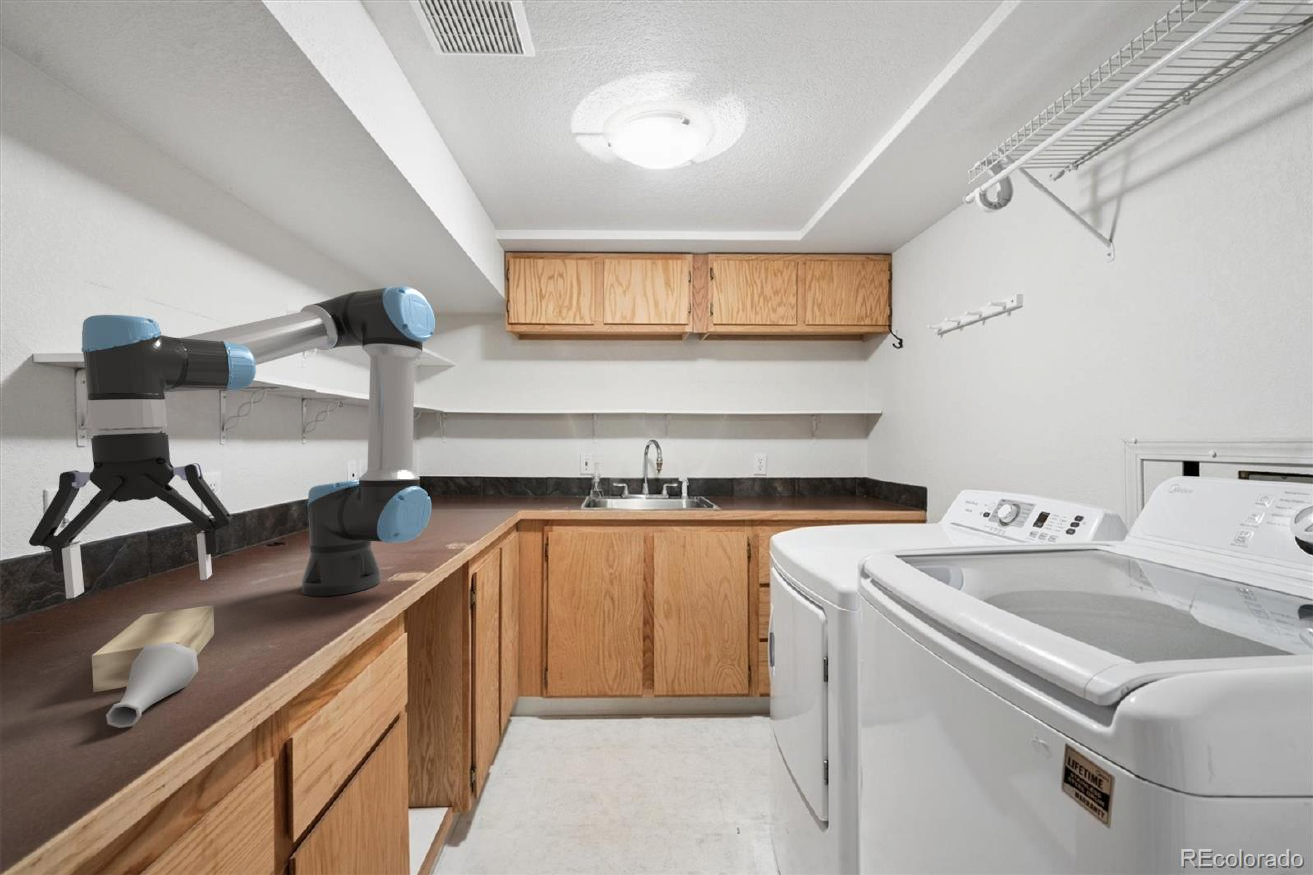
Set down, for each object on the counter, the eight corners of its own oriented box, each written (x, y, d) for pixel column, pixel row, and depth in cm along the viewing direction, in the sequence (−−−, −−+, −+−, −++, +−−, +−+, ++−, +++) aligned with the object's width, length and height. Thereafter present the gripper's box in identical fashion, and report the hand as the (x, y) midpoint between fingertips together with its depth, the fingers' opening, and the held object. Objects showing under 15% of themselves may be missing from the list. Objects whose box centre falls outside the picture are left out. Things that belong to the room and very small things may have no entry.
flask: (206, 644, 74) (168, 692, 64) (193, 692, 74) (153, 745, 65) (140, 636, 71) (90, 685, 62) (127, 686, 72) (76, 741, 62)
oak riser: (214, 634, 93) (213, 605, 93) (180, 676, 77) (178, 641, 77) (144, 645, 89) (143, 614, 88) (93, 692, 73) (91, 655, 72)
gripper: (249, 427, 83) (259, 564, 84) (14, 436, 71) (30, 595, 72) (238, 428, 76) (249, 577, 77) (-22, 438, 64) (-5, 613, 66)
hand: (143, 586), depth 75 cm, fingers open, 13 cm apart
